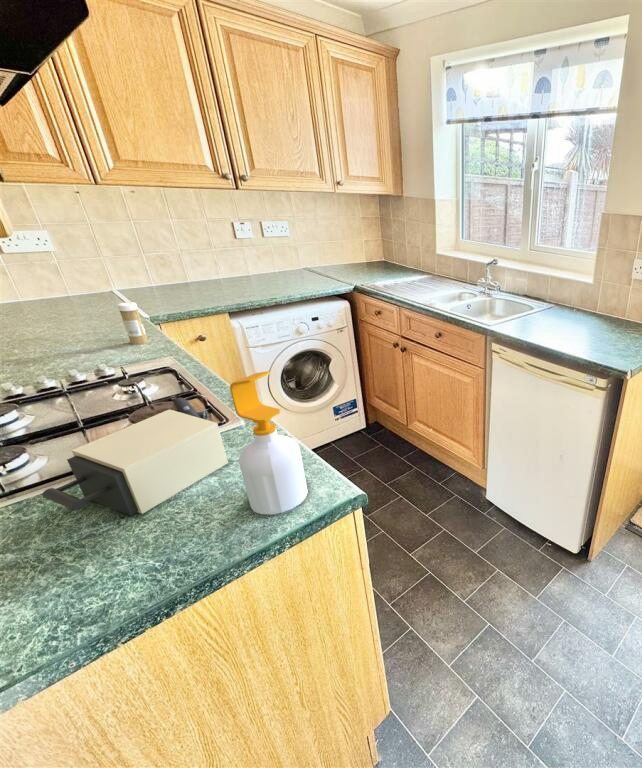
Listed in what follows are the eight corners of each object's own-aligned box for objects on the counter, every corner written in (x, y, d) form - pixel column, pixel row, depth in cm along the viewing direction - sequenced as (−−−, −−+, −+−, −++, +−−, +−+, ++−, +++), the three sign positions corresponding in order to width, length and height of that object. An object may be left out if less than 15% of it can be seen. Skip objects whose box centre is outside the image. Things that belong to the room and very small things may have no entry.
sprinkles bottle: (152, 342, 138) (139, 302, 133) (142, 346, 134) (129, 305, 129) (137, 341, 138) (123, 301, 132) (127, 346, 134) (112, 305, 128)
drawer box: (142, 516, 69) (123, 469, 65) (92, 496, 73) (71, 450, 69) (228, 464, 83) (217, 422, 79) (182, 450, 86) (169, 409, 82)
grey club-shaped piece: (217, 436, 91) (211, 414, 89) (177, 447, 87) (170, 424, 84) (200, 405, 103) (194, 385, 100) (165, 414, 98) (158, 392, 96)
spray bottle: (280, 522, 70) (250, 390, 59) (238, 508, 72) (202, 379, 62) (319, 490, 77) (298, 368, 67) (280, 478, 80) (254, 359, 70)
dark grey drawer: (94, 537, 64) (74, 496, 60) (46, 516, 67) (25, 477, 63) (214, 466, 80) (204, 432, 77) (172, 452, 84) (160, 419, 80)
